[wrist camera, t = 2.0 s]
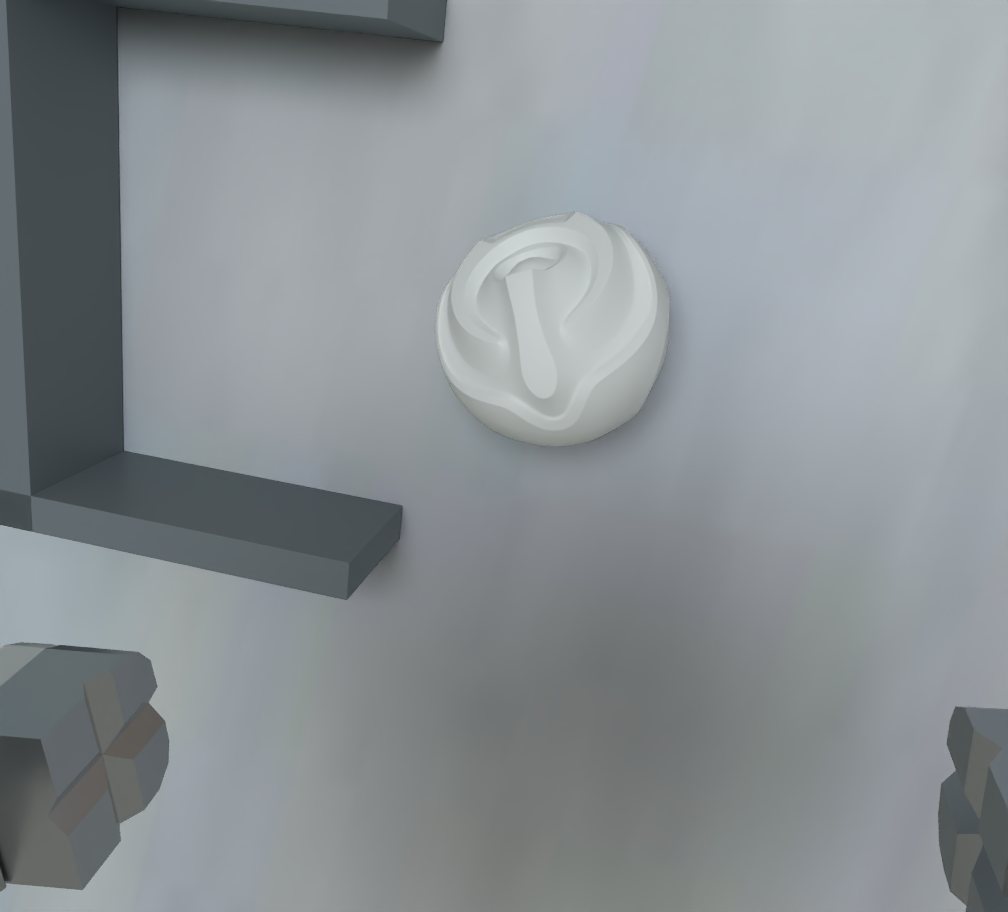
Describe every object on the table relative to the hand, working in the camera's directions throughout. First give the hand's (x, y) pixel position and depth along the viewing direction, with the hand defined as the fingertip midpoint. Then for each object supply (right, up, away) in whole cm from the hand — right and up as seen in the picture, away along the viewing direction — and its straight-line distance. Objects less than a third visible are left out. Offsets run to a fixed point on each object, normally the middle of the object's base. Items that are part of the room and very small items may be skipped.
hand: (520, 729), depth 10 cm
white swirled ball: (+3, +8, +26) cm, 28 cm away
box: (-10, +10, +28) cm, 32 cm away
